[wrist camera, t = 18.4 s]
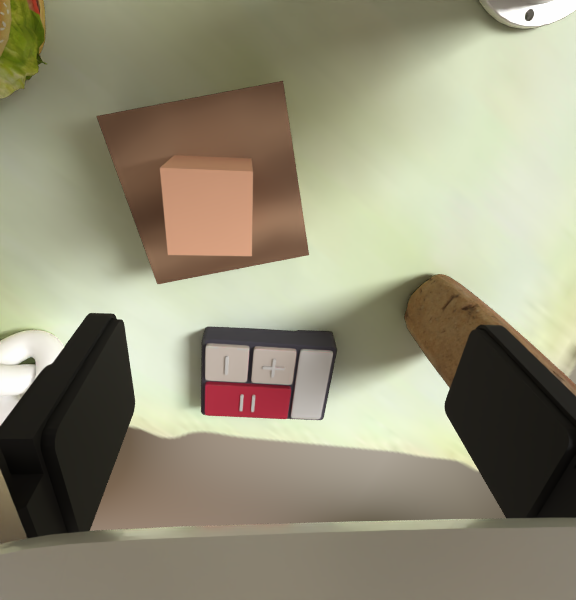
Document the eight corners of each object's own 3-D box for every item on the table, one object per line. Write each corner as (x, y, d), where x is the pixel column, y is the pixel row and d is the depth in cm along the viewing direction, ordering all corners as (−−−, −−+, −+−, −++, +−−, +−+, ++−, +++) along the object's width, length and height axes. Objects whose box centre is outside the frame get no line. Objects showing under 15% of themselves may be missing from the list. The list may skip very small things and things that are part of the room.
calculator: (200, 342, 41) (339, 351, 43) (205, 321, 45) (333, 330, 47) (199, 419, 46) (324, 425, 48) (205, 395, 50) (319, 401, 52)
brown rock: (388, 308, 46) (479, 442, 28) (435, 260, 43) (566, 373, 26) (447, 352, 50) (559, 493, 32) (493, 309, 47) (641, 437, 30)
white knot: (63, 301, 41) (20, 349, 33) (101, 388, 47) (72, 447, 39) (-47, 316, 41) (-116, 369, 33) (5, 403, 47) (-44, 465, 39)
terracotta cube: (174, 155, 31) (159, 167, 25) (251, 158, 31) (253, 171, 26) (179, 229, 33) (167, 254, 28) (250, 231, 34) (251, 256, 29)
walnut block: (119, 113, 34) (96, 116, 29) (276, 83, 34) (282, 80, 29) (168, 259, 41) (157, 284, 35) (300, 234, 41) (309, 254, 36)
